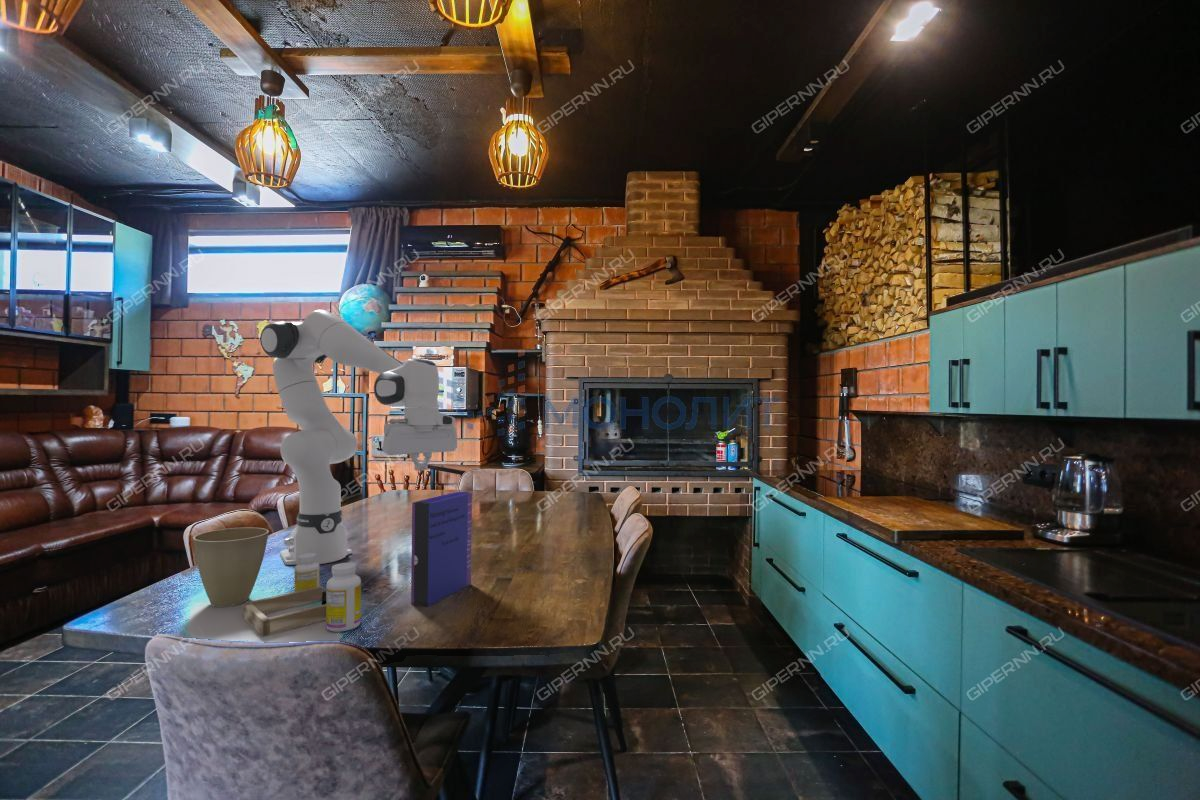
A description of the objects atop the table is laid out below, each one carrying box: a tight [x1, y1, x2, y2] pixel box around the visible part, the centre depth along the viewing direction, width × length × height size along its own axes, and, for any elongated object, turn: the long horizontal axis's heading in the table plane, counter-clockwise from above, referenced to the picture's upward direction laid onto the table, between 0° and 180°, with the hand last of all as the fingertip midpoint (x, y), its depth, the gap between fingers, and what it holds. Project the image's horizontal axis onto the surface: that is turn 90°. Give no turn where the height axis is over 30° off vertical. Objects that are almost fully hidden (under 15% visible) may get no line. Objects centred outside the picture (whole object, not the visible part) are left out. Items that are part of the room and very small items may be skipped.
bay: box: [242, 585, 326, 637], centre depth 123 cm, size 14×16×3 cm
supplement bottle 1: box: [294, 553, 321, 592], centre depth 136 cm, size 5×5×10 cm
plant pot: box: [192, 526, 270, 608], centre depth 131 cm, size 15×15×16 cm
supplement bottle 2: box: [325, 562, 362, 633], centre depth 117 cm, size 7×7×13 cm
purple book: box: [410, 491, 473, 608], centre depth 138 cm, size 17×5×24 cm, turn 159°
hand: (421, 470), depth 150 cm, fingers closed
